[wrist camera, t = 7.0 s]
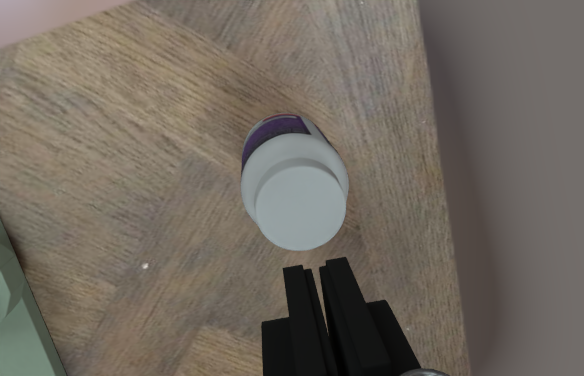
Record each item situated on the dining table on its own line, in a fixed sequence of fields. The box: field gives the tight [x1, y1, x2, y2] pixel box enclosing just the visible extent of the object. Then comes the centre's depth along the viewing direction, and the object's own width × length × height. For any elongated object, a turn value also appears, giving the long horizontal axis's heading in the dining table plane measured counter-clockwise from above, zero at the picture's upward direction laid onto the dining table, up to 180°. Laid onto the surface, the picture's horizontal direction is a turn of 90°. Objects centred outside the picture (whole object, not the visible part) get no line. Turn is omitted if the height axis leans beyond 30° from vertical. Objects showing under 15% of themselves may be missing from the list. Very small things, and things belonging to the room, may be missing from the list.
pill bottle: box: [241, 113, 349, 251], centre depth 23 cm, size 5×5×10 cm
